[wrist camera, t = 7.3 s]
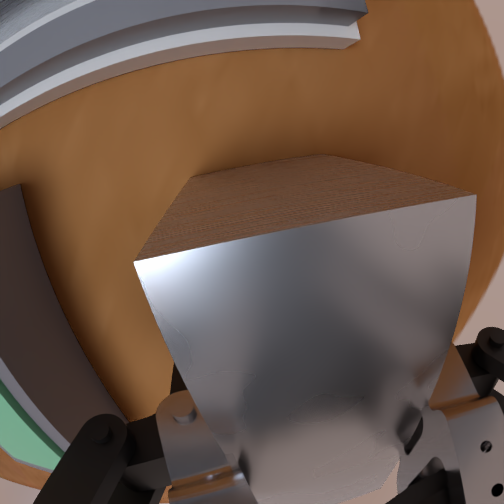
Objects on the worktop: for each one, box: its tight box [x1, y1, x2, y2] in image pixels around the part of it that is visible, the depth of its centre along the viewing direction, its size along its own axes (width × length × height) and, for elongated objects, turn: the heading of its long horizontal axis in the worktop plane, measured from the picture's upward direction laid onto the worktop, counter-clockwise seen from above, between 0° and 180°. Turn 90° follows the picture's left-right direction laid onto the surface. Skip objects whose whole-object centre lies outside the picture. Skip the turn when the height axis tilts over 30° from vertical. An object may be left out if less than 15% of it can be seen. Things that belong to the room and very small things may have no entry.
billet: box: [134, 154, 477, 504], centre depth 7 cm, size 4×10×6 cm, turn 10°
